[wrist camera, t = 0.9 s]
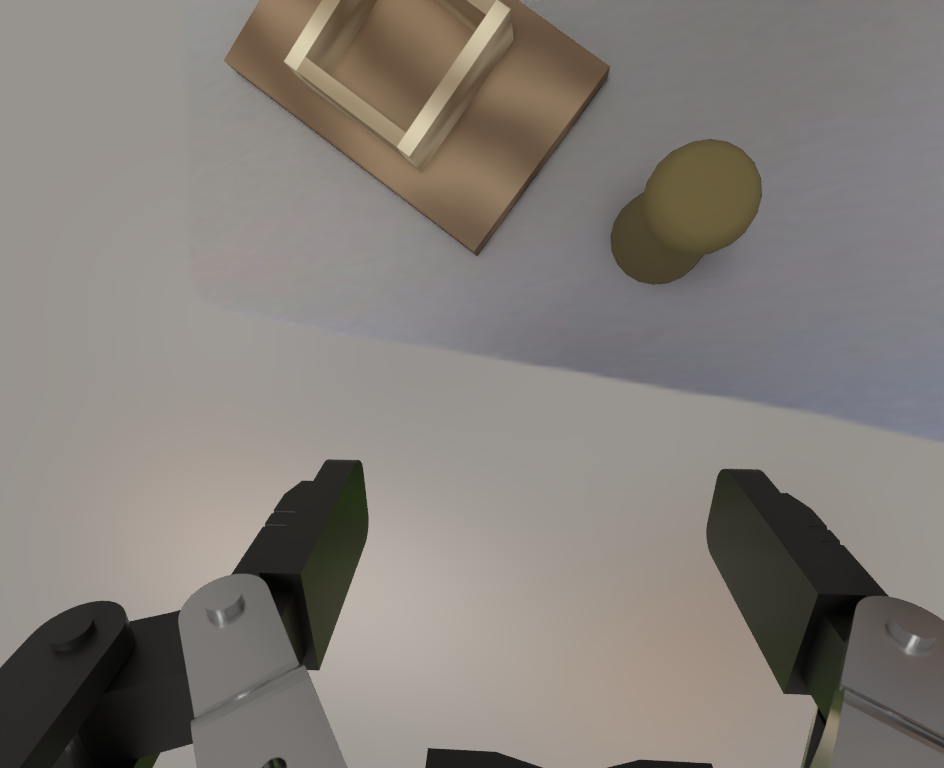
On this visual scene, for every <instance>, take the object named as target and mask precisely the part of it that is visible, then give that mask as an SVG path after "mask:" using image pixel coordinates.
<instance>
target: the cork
mask: <svg viewBox="0 0 944 768" xmlns="http://www.w3.org/2000/svg"><path fill="white" fill-rule="evenodd" d="M761 197H762V189H761V177H760V175H759V173H758V170H757V168H756V165H755V163H754V162H753V161H752V159H751V158H750V157H749V156H748V155H747V154H746V153H745V152H744V151H743V150H742V149H740V148H738V147H736V146H734V145H732V144H731V143H729V142H725V141H719V140H713V139H708V140H701V141H695V142H691V143H689V144H687V145H685V146H683V147H680V148H678V149H676V150H674V151H672V152H671V153H670V154H669V155H668V156H666V157H665V158H664V159H663V160H662V161H661V162H660V163H659V164H658V165H657V167H656V169H655V170H654V172H653V174H652V175H651V177H650V178H649V180H648V182H647V184H646V188H645V191H644V192H643V193H642V194H640V195H639V196H637V197H636V198H634V199H633V200H632V201H631V202H630V203H629V204H627V205H626V206H625V207H624V208H623V209H622V210H621V212H620V213H619V215H618V217H617V218H616V220H615V222H614V225H613V229H612V233H611V247H612V253H613V255H614V257H615V260H616V262H617V264H618V265H619V266H620V268H621V269H622V270H623V271H624V272H625V273H626V274H627V275H628V276H630V277H632V278H634V279H636V280H637V281H639V282H644V283H649V284H662V283H669V282H672V281H674V280H676V279H678V278H681V277H683V276H684V275H685V274H686V273H687V272H689V271H690V270H691V269H692V268H693V267H694V266H695V265H696V264H697V263H698V261H699V260H700V259H701V258H702V257H703V255H704V254H710V253H712V252H714V251H717V250H719V249H721V248H724V247H726V246H728V245H730V244H732V243H733V242H734V241H735V240H736V239H738V238H739V237H740V236H741V235H742V234H743V233H745V232H746V230H747V228H748V227H749V225H750V224H751V222H752V221H753V219H754V218H755V216H756V214H757V212H758V208H759V204H760V201H761Z"/></svg>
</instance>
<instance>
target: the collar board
mask: <svg viewBox="0 0 944 768" xmlns="http://www.w3.org/2000/svg"><path fill="white" fill-rule="evenodd" d="M224 61H225V62H226V63H227V64H228V65H230V66H231V67H232V68H233V69H234V70H235V71H236V72H238V73H239V74H240V75H242V76H243V77H244V78H246V79H247V80H248V81H249V82H251V83H252V84H253V85H255V86H256V87H257V88H259V89H260V90H261V91H262V92H264V93H265V94H266V95H268V96H269V97H270V98H272V99H273V100H274V101H276V102H277V103H278V104H279V105H281V106H282V107H283V108H285V109H286V110H287V111H289V112H290V113H291V114H293V115H294V116H295V117H296V118H298V119H299V120H300V121H302V122H303V123H304V124H306V125H307V126H308V127H310V128H311V129H312V130H313V131H315V132H316V133H317V134H319V135H320V136H321V137H323V138H324V139H325V140H327V141H328V142H329V143H330V144H332V145H333V146H334V147H336V148H337V149H338V150H340V151H341V152H342V153H344V154H345V155H346V156H347V157H349V158H350V159H351V160H353V161H354V162H355V163H357V164H358V165H359V166H360V167H362V168H363V169H364V170H366V171H367V172H368V173H370V174H371V175H372V176H374V177H375V178H376V179H377V180H379V181H380V182H381V183H383V184H384V185H385V186H387V187H388V188H389V189H391V190H392V191H393V192H394V193H396V194H397V195H398V196H400V197H401V198H402V199H404V200H405V201H406V202H408V203H409V204H410V205H411V206H413V207H414V208H415V209H417V210H418V211H419V212H421V213H422V214H423V215H425V216H426V217H427V218H428V219H430V220H431V221H432V222H434V223H435V224H436V225H438V226H439V227H440V228H442V229H443V230H444V231H445V232H447V233H448V234H449V235H451V236H452V237H453V238H455V239H456V240H457V241H458V242H460V243H461V244H462V245H464V246H465V247H466V248H468V249H469V250H470V251H472V252H473V253H474V254H475V255H478V253H479V252H480V251H481V249H482V248H483V247H484V245H485V244H486V243H487V241H488V240H489V238H490V237H491V236H492V234H493V233H494V232H495V230H496V229H497V228H498V226H499V225H500V224H501V222H502V221H503V219H504V218H505V217H506V215H507V214H508V213H509V211H510V210H511V209H512V207H513V206H514V205H515V203H516V202H517V200H518V199H519V198H520V196H521V195H522V194H523V192H524V191H525V190H526V188H527V187H528V186H529V184H530V183H531V181H532V180H533V179H534V177H535V176H536V175H537V173H538V172H539V171H540V169H541V168H542V166H543V165H544V164H545V162H546V161H547V160H548V158H549V157H550V156H551V154H552V153H553V152H554V150H555V149H556V147H557V146H558V145H559V143H560V142H561V141H562V139H563V138H564V137H565V135H566V134H567V133H568V131H569V130H570V128H571V127H572V126H573V124H574V123H575V122H576V120H577V119H578V118H579V116H580V115H581V113H582V112H583V111H584V109H585V108H586V107H587V105H588V104H589V103H590V101H591V100H592V99H593V97H594V96H595V94H596V93H597V92H598V90H599V89H600V88H601V86H602V85H603V84H604V82H605V81H606V80H607V77H608V72H609V68H610V66H608V65H607V64H606V63H604V62H603V61H601V60H600V59H599V58H597V57H596V56H594V55H593V54H592V53H590V52H589V51H588V50H586V49H585V48H583V47H582V46H581V45H579V44H578V43H576V42H575V41H574V40H572V39H571V38H570V37H568V36H567V35H565V34H564V33H563V32H561V31H560V30H558V29H557V28H556V27H554V26H553V25H551V24H550V23H549V22H547V21H546V20H545V19H543V18H542V17H540V16H539V15H538V14H536V13H535V12H533V11H532V10H531V9H529V8H528V7H527V6H525V5H524V4H522V3H521V2H520V1H518V0H260V1H259V3H258V4H257V6H256V8H255V9H254V11H253V13H252V14H251V16H250V18H249V19H248V21H247V22H246V24H245V26H244V27H243V29H242V31H241V32H240V34H239V36H238V37H237V39H236V41H235V42H234V44H233V46H232V47H231V49H230V51H229V52H228V54H227V56H226V57H225V59H224Z"/></svg>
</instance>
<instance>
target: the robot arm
mask: <svg viewBox="0 0 944 768" xmlns="http://www.w3.org/2000/svg"><path fill="white" fill-rule="evenodd" d="M706 532H707V534H706V535H707V543H708V548H709V551H710V554H711V556H712V558H713V560H714V562H715V564H716V565H717V568H718V569H719V571H720V573H721V575H722V577H723V579H724V581H725V583H726V585H727V587H728V588H729V590H730V592H731V594H732V596H733V598H734V600H735V602H736V604H737V606H738V608H739V609H740V611H741V613H742V615H743V617H744V619H745V621H746V623H747V625H748V627H749V628H750V630H751V632H752V634H753V636H754V638H755V640H756V642H757V643H758V645H759V647H760V649H761V651H762V653H763V655H764V657H765V659H766V661H767V663H768V665H769V667H770V668H771V670H772V672H773V674H774V676H775V678H776V680H777V681H778V684H779V685H780V687H781V689H782V691H783V693H784V694H802V695H811V696H812V697H813V699H814V701H815V703H816V704H817V709H816V711H815V714H814V716H813V719H812V723H811V727H810V731H809V735H808V739H807V743H806V748H805V752H804V756H803V760H802V764H801V768H944V621H943V620H942V619H940V618H939V617H938V616H936V615H934V614H933V613H931V612H929V611H927V610H926V609H924V608H922V607H919V606H917V605H915V604H913V603H910V602H907V601H904V600H901V599H897V598H893V597H889V596H888V595H887V594H886V593H885V592H884V591H883V589H882V588H881V587H880V586H879V585H878V584H877V583H876V581H875V580H874V579H873V578H872V577H871V576H870V575H869V574H868V572H867V571H866V570H865V569H864V568H863V567H862V566H861V565H860V563H859V562H858V561H857V560H856V559H855V558H854V557H853V555H852V554H851V553H850V552H849V551H848V550H847V549H846V548H845V547H844V545H840V541H839V540H838V539H837V537H836V536H835V535H834V534H833V533H832V532H831V531H830V530H827V526H826V525H825V524H824V523H823V522H822V520H821V519H820V518H819V517H818V516H817V515H816V514H815V513H814V511H813V510H812V509H810V508H809V507H807V506H806V505H804V504H803V503H802V502H800V501H799V500H797V499H795V498H794V497H792V496H791V495H789V494H788V493H780V492H779V490H778V489H777V488H776V487H775V486H774V484H773V483H772V482H771V481H770V480H769V478H768V477H767V476H766V475H765V474H764V473H763V472H762V471H761V470H752V469H723V470H721V471H720V473H719V474H718V477H717V481H716V485H715V490H714V495H713V499H712V504H711V509H710V514H709V518H708V523H707V530H706ZM367 533H368V508H367V499H366V490H365V482H364V473H363V467H362V463H361V461H359V460H326V461H325V462H324V464H323V466H322V467H321V469H320V471H319V472H318V474H317V476H316V478H315V479H314V481H301V482H300V483H299V484H298V485H296V486H295V487H294V488H292V489H291V490H289V491H288V492H287V493H285V494H284V496H283V497H282V499H281V500H280V502H279V503H278V505H277V506H276V508H275V509H274V513H272V514H271V515H270V517H269V518H268V520H267V521H266V523H265V527H263V528H262V529H261V531H260V532H259V533H258V535H257V537H256V538H255V539H254V541H253V543H252V544H251V546H250V547H249V549H248V550H247V552H246V553H245V555H244V556H243V558H242V559H241V561H240V562H239V564H238V565H237V567H236V568H235V570H234V571H233V573H232V574H231V575H229V576H225V577H222V578H219V579H216V580H214V581H212V582H210V583H208V584H206V585H204V586H203V587H201V588H200V589H199V590H197V591H196V592H195V593H194V594H193V595H191V596H190V598H189V599H188V600H187V601H186V602H185V604H184V605H183V607H182V609H181V610H179V611H175V612H172V613H167V614H162V615H158V616H154V617H148V618H144V619H139V620H135V621H130V622H129V620H128V618H127V615H126V613H125V610H124V608H123V607H122V606H121V605H119V604H117V603H115V602H111V601H95V602H90V603H86V604H82V605H79V606H76V607H74V608H71V609H69V610H67V611H64V612H62V613H60V614H59V615H57V616H55V617H53V618H52V619H50V620H49V621H47V622H46V623H44V624H43V625H42V626H40V627H39V628H38V629H37V630H36V631H35V632H34V633H33V634H32V635H31V636H29V638H28V639H27V640H26V641H25V642H24V643H23V644H22V645H21V646H20V647H19V648H18V649H17V651H16V652H15V653H14V654H13V655H12V656H11V657H10V658H9V659H8V660H7V661H6V662H5V664H4V665H3V666H2V667H1V668H0V768H152V767H153V765H154V764H155V762H156V759H157V758H158V756H159V754H160V752H164V751H167V750H171V749H174V748H178V747H182V746H185V745H189V744H192V743H193V745H194V752H195V757H196V764H197V768H347V766H346V763H345V761H344V758H343V756H342V753H341V751H340V749H339V746H338V744H337V741H336V739H335V736H334V734H333V732H332V729H331V727H330V724H329V722H328V719H327V717H326V715H325V712H324V710H323V707H322V705H321V703H320V700H319V698H318V695H317V693H316V690H315V688H314V686H313V683H312V681H311V678H310V676H309V673H308V671H307V670H319V669H320V667H321V664H322V661H323V658H324V655H325V653H326V650H327V647H328V644H329V642H330V639H331V636H332V634H333V631H334V628H335V625H336V623H337V620H338V617H339V614H340V611H341V609H342V606H343V603H344V601H345V598H346V595H347V592H348V590H349V587H350V584H351V581H352V579H353V576H354V573H355V570H356V568H357V565H358V562H359V559H360V557H361V554H362V551H363V548H364V545H365V543H366V539H367ZM426 768H542V767H539V766H536V765H533V764H530V763H527V762H524V761H521V760H518V759H515V758H512V757H509V756H506V755H503V754H500V753H498V752H487V751H468V750H449V749H431V748H428V753H427V760H426ZM609 768H713V767H712V764H710V763H709V764H708V763H691V762H673V761H672V762H671V761H653V760H637V761H633V762H629V763H625V764H621V765H617V766H613V767H609Z"/></svg>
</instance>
